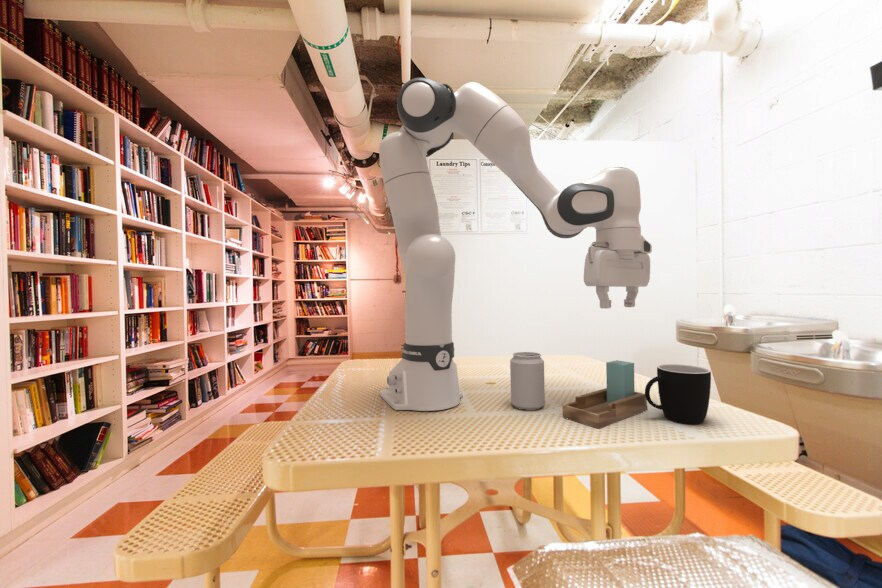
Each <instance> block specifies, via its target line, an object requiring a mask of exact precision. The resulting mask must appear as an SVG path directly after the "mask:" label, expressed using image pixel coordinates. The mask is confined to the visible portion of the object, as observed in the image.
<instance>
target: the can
mask: <svg viewBox="0 0 882 588" xmlns="http://www.w3.org/2000/svg"><path fill="white" fill-rule="evenodd" d="M541 356H542V354H541V353H539V352H534V351H533V352H532V351H520V352H519V351H518V352H514V353H512V357H511V359H510V361H509V363H510V364H509V366H510V367H509V368H510V373H509V374H510V403H511V404H512V405H513V406H514V408H515V409H518V408H520V409H519V410H522V409H526V410H525V411H536V410H535V409H538V410H539V408H540V409H541V408H542V407H544V405H545V404H546V398H545V392H546V391H545V389H546V388H545V361H544V359H543V358H542V357H541Z"/></svg>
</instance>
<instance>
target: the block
mask: <svg viewBox="0 0 882 588" xmlns="http://www.w3.org/2000/svg"><path fill="white" fill-rule="evenodd" d="M605 363H606V364H605V365H606V366H605V368H606V388H607V404H609V403H611V402H614V401H617V400H620V399H623V398H626V397H629V396H633V395H635V392H636V390H635V363H634V362H629V361H624V360H623V361H622V360H619V359H618V360H611V361H607V362H605Z"/></svg>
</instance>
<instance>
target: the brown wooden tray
mask: <svg viewBox="0 0 882 588" xmlns="http://www.w3.org/2000/svg"><path fill="white" fill-rule="evenodd" d="M574 400H575V401H572V402H569V403H565V404H563V405H562V418H563V417H566V418H568V419H567V420H569V419H571V420H570V421H572V420H574V421H573V422H575V423H576V422H577V423H579V424H582V425H585V426H588V427H591V428H595V429H597V430H600V429H602V428H605V427H607V426H610V425H613V424H615V423H617V421H618V422H620V421H623V420H625V418H626V419H628V418H631V417H633V416H636V415H639V414H641V413H643V411H644V412H646V410H647V411H648V401H647V399H646V396H645V392H644V393H643V392H638V391H635V395H633V396H629V397H626V398H623V399H620V400H617V401H614V402H611V403H609V404H607V387H606V388H602V389H599V390H594V391H591V392H588V393H584V394H580V396H575V399H574ZM638 413H639V414H638ZM635 414H636V415H635ZM632 415H633V416H632ZM630 416H631V417H630ZM566 418H565V419H566Z"/></svg>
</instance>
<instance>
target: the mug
mask: <svg viewBox="0 0 882 588" xmlns="http://www.w3.org/2000/svg"><path fill="white" fill-rule="evenodd" d="M656 375H657V376H655V377H652V379H650V380H649V381H648V382H647V383H646V385H645V389H644V394H645V396H646V399H647V403H648V404H649V405H650V406H652V407H653V408H655V409H657V410H661V411H662V413H663V415H664V417H665V419H667V420H670V421H672V422H675V423H679V424H685V425H699V424H702V423H704V421H705V420H706V417H707V415H708V410H709V407H710V406H709V404H710V397H711V387H712V386H711V385H712V373H711V370H710V369H709V368H706V367H702V366H697V365H692V364H679V363H678V364H677V363H665V364H664V363H663V364H659V365H657V367H656ZM656 383H657V388H658V389H657V390H658V396H659V400H660V401H659V402H660V404H656V403H655V402H654V401H653V399H652V398H651V395H650V392H651V388H652V387H653V385H654V384H656Z"/></svg>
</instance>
